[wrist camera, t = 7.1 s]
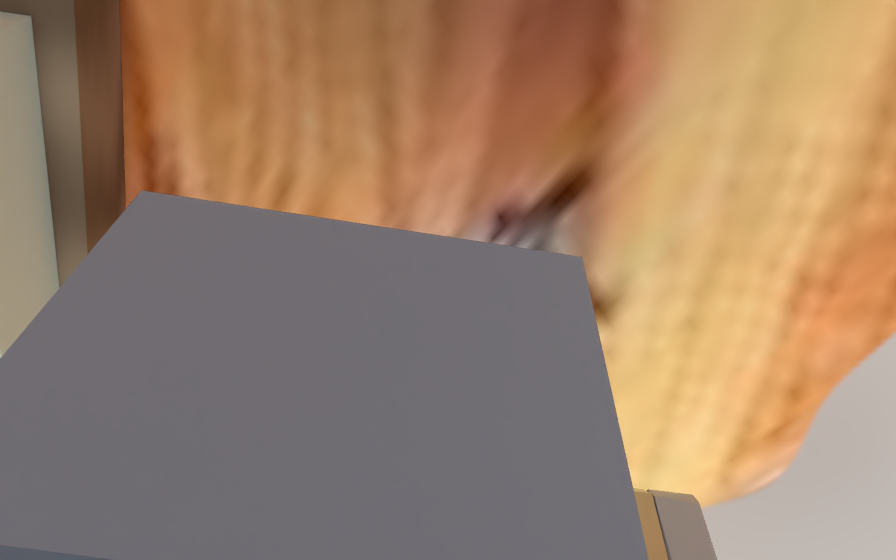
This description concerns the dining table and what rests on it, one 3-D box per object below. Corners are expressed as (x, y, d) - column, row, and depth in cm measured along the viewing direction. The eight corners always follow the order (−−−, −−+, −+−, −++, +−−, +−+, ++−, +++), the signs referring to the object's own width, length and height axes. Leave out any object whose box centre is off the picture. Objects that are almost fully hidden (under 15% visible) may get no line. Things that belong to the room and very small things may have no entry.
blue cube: (141, 190, 10) (-142, 527, 5) (581, 257, 10) (665, 631, 5) (151, 513, 12) (-35, 923, 8) (501, 560, 12) (513, 983, 8)
